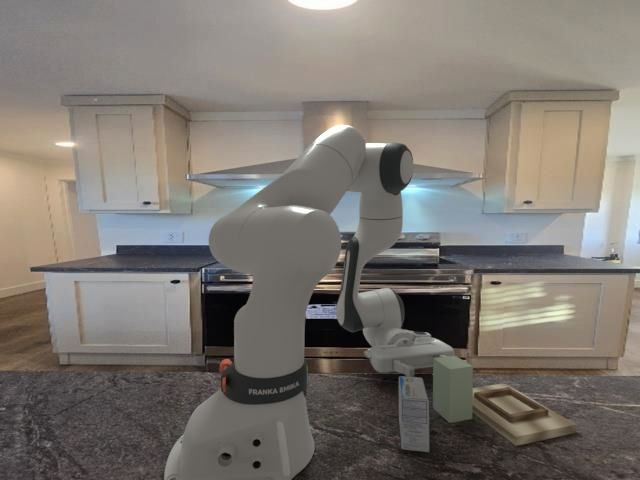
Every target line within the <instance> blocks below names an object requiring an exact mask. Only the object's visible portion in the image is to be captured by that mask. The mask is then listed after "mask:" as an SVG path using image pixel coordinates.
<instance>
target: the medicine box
mask: <svg viewBox="0 0 640 480" xmlns="http://www.w3.org/2000/svg"><path fill="white" fill-rule="evenodd" d="M428 396H429V395H428V392H427V388H426V386H425V382H424V379H423V377H419V376H418V377H417V376H406V375H399V376H398V424H399V433H400V434H399V436H400V446H401V447H400V448H401V450H407V451H413V452H420V453H421V452H422V453H430V401H429V400H430V399H429V397H428Z"/></svg>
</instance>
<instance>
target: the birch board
mask: <svg viewBox="0 0 640 480" xmlns="http://www.w3.org/2000/svg"><path fill="white" fill-rule="evenodd" d="M472 414H474V415H475V416H476V417H478V418H480V419H481V420H482V421H483V422H484V423H486V424H487V425H488V426H489V427H490V428H492V429H494V430H495V432H498V434H500V435H501V436H502V437H504V438H505V439H506V440H507V441H508V442H510V443H511V444H512V445H514V446H515V447H517V446H522V445H526V444H530V443H535V442H540V441H545V440H549V439H555V438H558V437H563V436H567V435H573V434H576V433H577V424H576V423H574V422H572V421H571V420H570V419H568V418H566V417H564V416H563V415H561V414H559V413H558V412H555V411H554V410H552V409H550V408H548V407H547V406H545V405H543V404H541V403H539V402H538V401H536V399H535V400H534V399H533V398H531V397H530V396H527V395H526V394H524V393H522V392H520V391H519V390H517V389H515V388H514V387H512V386H510V385H508V384H507V383H498V384H491V385H485V386H478V387H473V407H472Z"/></svg>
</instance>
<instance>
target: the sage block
mask: <svg viewBox="0 0 640 480" xmlns="http://www.w3.org/2000/svg"><path fill="white" fill-rule="evenodd" d="M432 369H433V370H432V374H433V375H432V376H433V377H432V408H433V409H434V410H435V412H437V413H438V414H439V415H440V417H442V418H444V420H445V421H447V423H449V424H451V423H457V422H463V421H468V420H472V419H473V412H472V407H473V388H474V384H473V383H474V375H473V374H474V365H471V364H470V363H469V362H466V361H465V360H463V359H461V358H460V357H458V356H457V355H454V356H449V357H441V358H433V367H432Z"/></svg>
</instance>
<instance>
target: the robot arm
mask: <svg viewBox="0 0 640 480" xmlns="http://www.w3.org/2000/svg"><path fill="white" fill-rule="evenodd" d="M413 172H414V157H413V154H412V151H411V150H410V149H409V147H408V146H407V145H406V144H404V143H400V142H393V141H389V142H388V143H384V142H383V143H382V142H366V141H365V138H364V135H362V133H361V132H360V131H359V130H358V129H357V128H355V127H353V126H351V125H347V124H337V125H335V126H332V127H331V128H329V129H328V130H325V131H324V132H323V133H322V134H320V135H319V136H318V137H316V138H315V139H314V140H313V141H312V142H311V143H310V144H309V145H308V146H307V147H306V148H305V149H304V151H303V152H302V153H301V154H300V155H299V156H298V157H297V158H296V159H295V160H294V161H293V162H292V164H290V165H289V166H288V167H287V169H285V171H284V172H283V173H282V174H281V175H279V176H278V177H277V178H275V179H274V180H273V181H272V182H271V183H269V184H267V185H266V186H265V187H263V188H262V189H261V190H259V191H258V192H256V193H255V194H254V195H253V196H251V197H250V198H248V199H247V200H246V201H245V202H243V204H241V205H239V207H237V208H235V209H234V210H232V211H231V212H229V213H227V214H225V215H224V216H222V217H220V218H218V220H217V221H215V223H213V225H212V227H211V229H210V231H209V235H208V247H209V250H210V253H211V255H212V256H213V258H214V259H215V260H216V261H217V263H219V264H220V265H223V266H225V267H226V268H228V269H230V270H232V271H234V272H237V273H241V274H248V275H252V285H251V290H250V294H249V296H248V299H247V301H246V304H245V305H243V306H241V308H240V309H238V310H237V312H236V314H235V316H234V319H233V323H234V324H233V326H234V327H233V336H234V338H233V341H234V342H233V343H234V344H233V345H234V346H233V348H234V349H233V353H234V354H233V360H234V361H231V359H229V358H225V359H222V360H221V362H220V363H219V368H218V371H219V373H220V388H219V389H218V390H217V391H216V392H214V393H213V394H212V395H211V396H210V397H208V398H207V399H206V400H205V401H202V403H201V404H199V405H198V406H197V407H196V408H195V409H194V411H192V414H191V416H190V417H189V419H188V422H187V424H186V427H185V429H184V433H183V434H182V435H181V436H180V437H179V438H178V439H177V440H176V442H175V443H174V445H173V447H172V449H171V450H170V452H169V454H168V457H167V459H166V463H165V467H164V471H163V472H164V474H163V480H292V479H293V478H295V476H297V475H298V474H299V473H300V472H301V471H303V469H305V468H306V466H307V465H308V464H309V463H310V462H311V460H312V458H313V456H314V453H315V449H316V448H315V445H316V444H315V440H314V437H313V433H312V429H311V425H310V422H309V416H308V407H307V399H306V397H307V396H308V387H309V382H308V381H309V378H308V377H309V374H308V373H309V372H308V371H309V370H308V362H307V360H306V358H305V333H306V332H305V330H306V329H305V326H306V315H307V310H308V306H309V303H310V300H311V297H312V295H313V293H314V290H315V289H316V287H317V285H318V284H319V283H320V282H321V281H322V280H323V279H324V278H325V277H326V276H328V275H329V274H330V273H331V272H332V270H333V269H334V268H335V266H337V263H338V261H339V258H340V256H341V250H342V236H341V235H342V234H341V232H340V229H339V226H338V224H337V222H336V221H335V219H334V218H333V216H332V215H331V214H332V212H333V211H334V210H335V209H336V207H337V206H338V204H339V203H340V202H341V200H342V199H343V197H344V196H345V194H346V193H347V192H352V193H360V194H359V196H360V197H359V210H358V211H359V214H358V218H359V221H358V225H357V229H356V232H355V233H354V235H353V236H352V237H350V239H349V240H348V241H347V245H346V249H345V255H344V261H343V267H342V276H341V280H340V281H341V282H340V290H339V295H338V299H337V302H336V308H335V311H336V319H337V322H338V324H339V326H340V327H342V328H343V329H344V330H346V331H348V332H351V333H355V332H358V331H362V335H363V336H364V338H365V340H366V341H367V343H368V344H369V345H370V346H371V347H370V348H368V349H366V350H364V351H363V355H364V356H365V357H366V358H367V359H369V361H370V364H371V366H372V367H373V369H374V370H375V371H376V372H377V373H380V374H386V373H387V374H388V373H394V372H396V373H398V374H403V375H404V376H410V377H415V375H416V374H415V371H416V370H417V369H418V370H419V369H426V368H427V369H428V368H433V358H441V357H449V356H455V349H454V348H453V346H451V345H449V344H447V343H445V342H444V341H442V340H440V339H438V338H435V337H432V334H430V333H429V332H426V331H425V332H424V331H414V330H408V329H403V328H402V327H403V325H404V320H405V314H406V313H405V305H404V301H403V299H402V298H401V296H400V295H399V294H398V293H397V292H396V291H395V290H394V289H392V288H390V287H384V288H383V287H382V288H380V289H379V288H378V289H373V290H370V291H369V290H368V291H363V292H359V291H360V283H361V277H362V271H363V269H364V267H365V265H366V264H367V263H368V262H369V261H370V260H372V259H373V258H374V257H376V256H378V255H379V254H381V253H383V252H385V251H387V250H388V249H391V248H392V247H393V246H394V245H395V244H396V243H397V242H398V241H399V239H400V237H401V235H402V231H403V224H404V223H403V222H404V221H403V219H404V218H403V214H404V213H403V212H404V211H403V208H404V207H403V199H402V198H403V197H402V191H403V190H405V189H406V188H407V187H408V186H409V184H410V183H411V181H412V178H413V174H414V173H413Z"/></svg>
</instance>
